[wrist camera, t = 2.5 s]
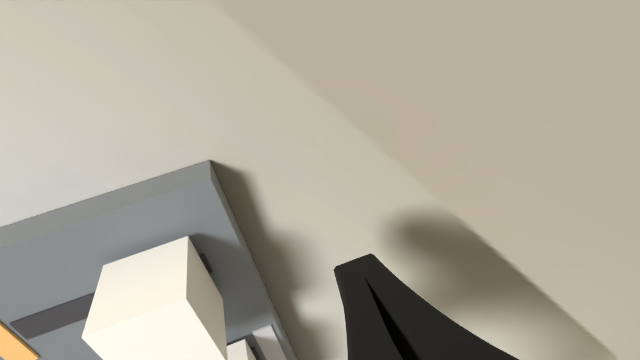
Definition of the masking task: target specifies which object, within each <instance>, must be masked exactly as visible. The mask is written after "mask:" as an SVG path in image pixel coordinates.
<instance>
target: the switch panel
mask: <svg viewBox="0 0 640 360" xmlns="http://www.w3.org/2000/svg"><path fill="white" fill-rule="evenodd" d="M186 236H188V237H189V239H190V241H191V242H192V244H193V246H194V248H195V250H196V251H197V253H198V255H199V257H200V259H201V261H202V262H203V264H204V266H205V268H206V270H207V271H208V273H209V275H210V277H211V279H212V280H213V282H214V284H215V286H216V288H217V289H218V291H219V293H220V295H221V297H222V299H223V308H224V320H225V332H226V344H227V346H229V345H231V344H234V343H236V342H239V341H241V340H244V339H245V340H246V342H247V344H248V346H249V347H250V349H251V351H252V353H253V355H254V356H255V358H256V360H297V358H296V356H295V353H294V351H293V349H292V347H291V344H290V342H289V340H288V338H287V335H286V333H285V331H284V328H283V326H282V324H281V322H280V319H279V317H278V315H277V313H276V310H275V308H274V306H273V303H272V301H271V299H270V297H269V294H268V292H267V290H266V287H265V285H264V283H263V281H262V278H261V276H260V274H259V272H258V269H257V267H256V265H255V262H254V260H253V258H252V256H251V253H250V251H249V249H248V247H247V244H246V242H245V240H244V237H243V235H242V233H241V231H240V228H239V226H238V224H237V222H236V219H235V217H234V215H233V212H232V210H231V208H230V206H229V203H228V201H227V199H226V197H225V194H224V192H223V190H222V187H221V185H220V183H219V181H218V178H217V176H216V174H215V171H214V169H213V167H212V165H211V162H210V160H207V161H204V162H201V163H198V164H195V165H192V166H189V167H186V168H183V169H179V170H176V171H173V172H170V173H167V174H164V175H161V176H158V177H155V178H152V179H149V180H145V181H142V182H139V183H136V184H133V185H130V186H127V187H124V188H121V189H118V190H115V191H111V192H108V193H105V194H102V195H99V196H96V197H93V198H90V199H87V200H84V201H81V202H77V203H74V204H71V205H68V206H65V207H62V208H59V209H56V210H53V211H50V212H47V213H43V214H40V215H37V216H34V217H31V218H28V219H25V220H22V221H19V222H16V223H13V224H9V225H6V226H3V227H0V360H103V359H102V358H101V357H100V356H99V355H98V354H97V353H96V352H95V351H94V350H93V349H92V348H91V347H90V346H89V345H88V344H87V343H86V342H85V341H84V340H83V339H82V338H81V337H82V334H83V331H84V327H85V324H86V321H87V318H88V314H89V311H90V308H91V305H92V301H93V298H94V295H95V291H96V288H97V285H98V282H99V278H100V275H101V272H102V269H103V265H106V264H109V263H111V262H114V261H117V260H120V259H123V258H126V257H129V256H132V255H134V254H137V253H140V252H143V251H146V250H149V249H152V248H155V247H157V246H160V245H163V244H166V243H169V242H172V241H175V240H177V239H180V238H183V237H186Z"/></svg>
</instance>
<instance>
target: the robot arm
mask: <svg viewBox="0 0 640 360" xmlns="http://www.w3.org/2000/svg"><path fill="white" fill-rule="evenodd" d="M334 273H335V277H336V280H337V284H338V288H339V292H340V295H341V299H342V303H343V306H344V313H345V321H346V332H347V347H348V360H519V359H517V358H515V357H513V356H511V355H509V354H507V353H506V352H504V351H502V350H500V349H498V348H496V347H494V346H493V345H491V344H489V343H487V342H486V341H484V340H482V339H481V338H479V337H477V336H476V335H474V334H472V333H471V332H469V331H468V330H466V329H465V328H463V327H461V326H460V325H458V324H457V323H455V322H454V321H452V320H451V319H450V318H448V317H447V316H445V315H444V314H442V313H441V312H440V311H438V310H437V309H436V308H434V307H433V306H431V305H430V304H429V303H428V302H426V301H425V300H424V299H422V298H421V297H420V296H419V295H417V294H416V293H415V292H414V291H412V290H411V289H410V288H409V287H408V286H406V285H405V284H404V283H403V282H402V281H401V280H399V279H398V278H397V277H396V276H395V275H394V274H393V273H392V272H391V271H389V270H388V269H387V268H386V267H385V266H384V265H383V264H382V263H381V262H380V261H379V260H378V259H377V258H376V257H375V255H373V254H371V253H370V254H368V255H365V256H362V257H360V258H357V259H354V260H352V261H349V262H346V263H344V264H341V265H338V266H336V267H335V269H334Z"/></svg>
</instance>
